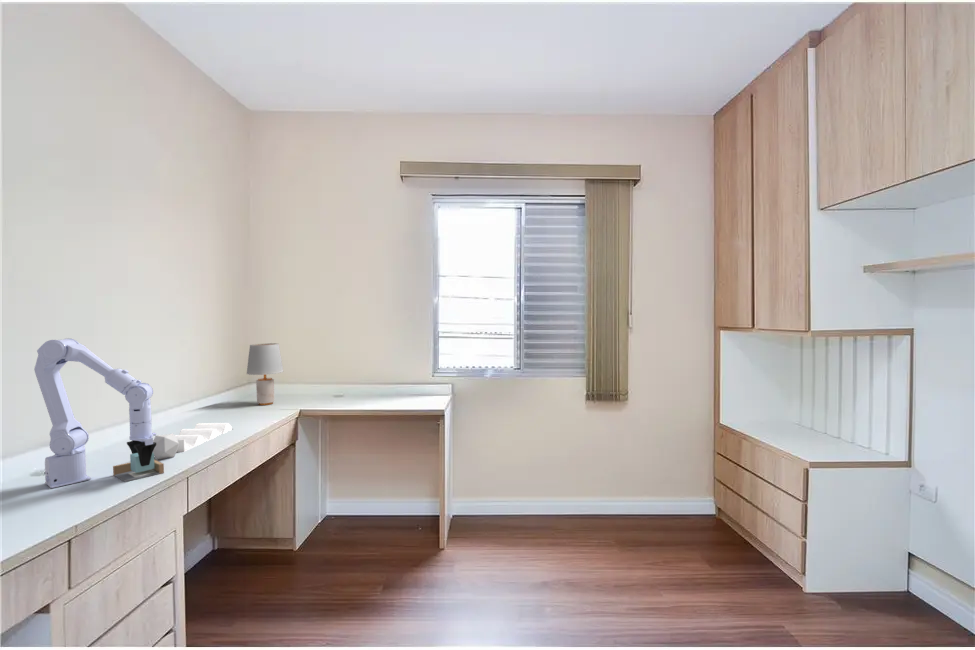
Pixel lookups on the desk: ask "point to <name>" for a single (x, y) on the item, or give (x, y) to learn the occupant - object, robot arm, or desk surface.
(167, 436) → the die
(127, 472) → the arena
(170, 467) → the desk surface
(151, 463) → the cube
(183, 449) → the file organizer
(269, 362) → the lamp
